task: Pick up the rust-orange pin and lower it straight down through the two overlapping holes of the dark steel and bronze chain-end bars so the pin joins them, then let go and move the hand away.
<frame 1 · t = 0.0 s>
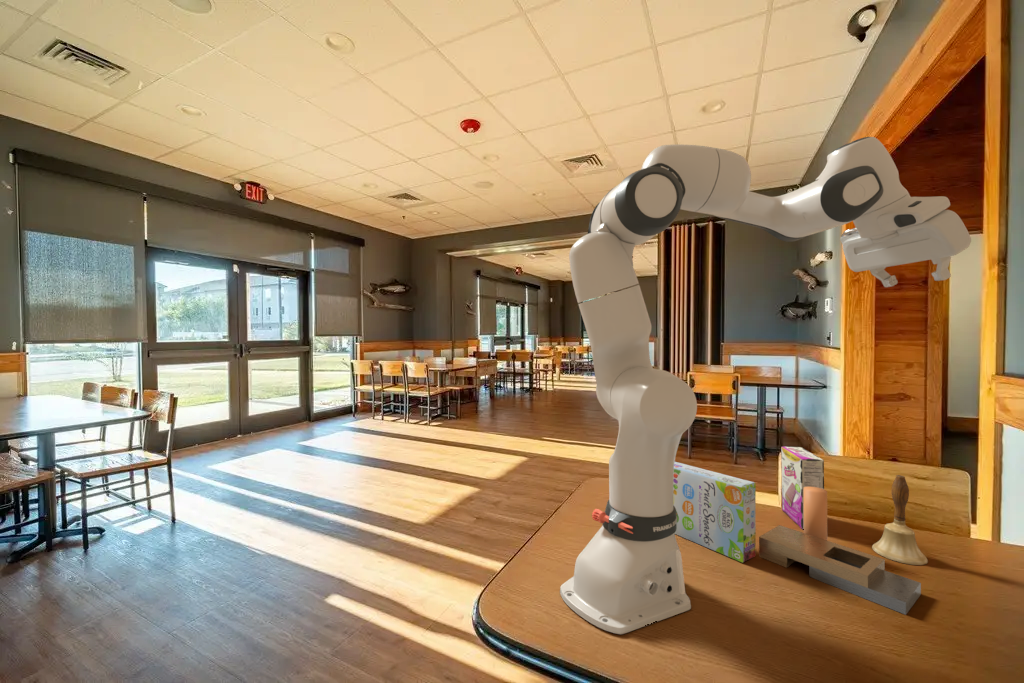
hand: (916, 282, 82), 54 cm above the table, tool tilted 30°, fingers open, 8 cm apart
hand bell: (899, 555, 85), on the table
snack box: (700, 540, 92), on the table
chain end upper: (846, 579, 77), on the table
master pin: (815, 547, 88), on the table
candy bar box: (801, 521, 101), on the table
chain end lower: (846, 579, 77), on the table
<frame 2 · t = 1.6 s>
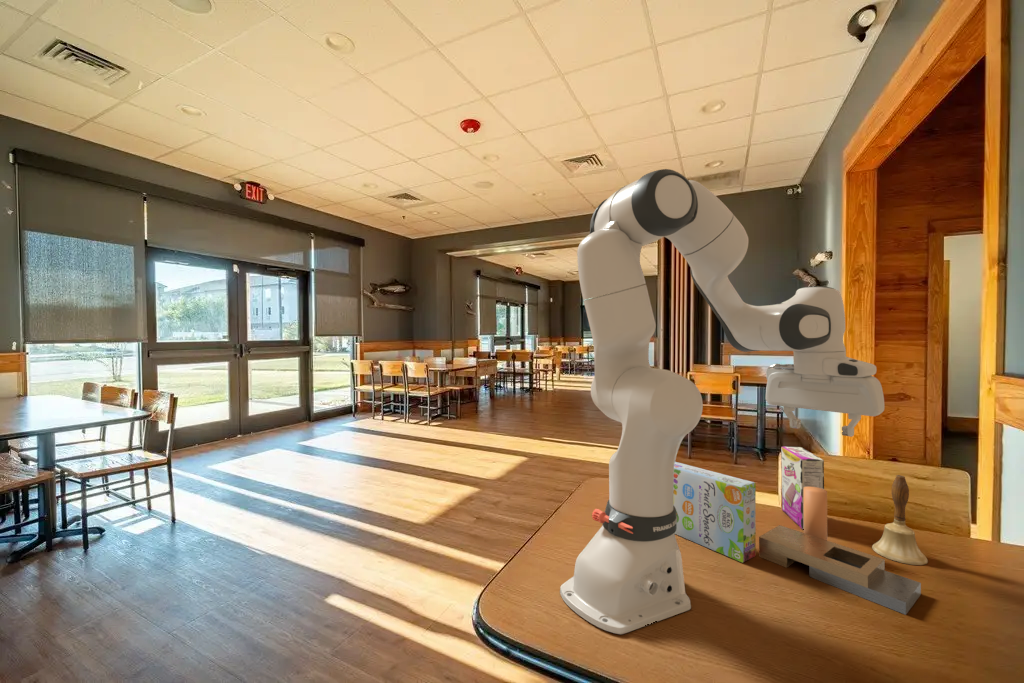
hand: (820, 431, 88), 24 cm above the table, tool pointing down, fingers open, 8 cm apart
nothing on the table moved.
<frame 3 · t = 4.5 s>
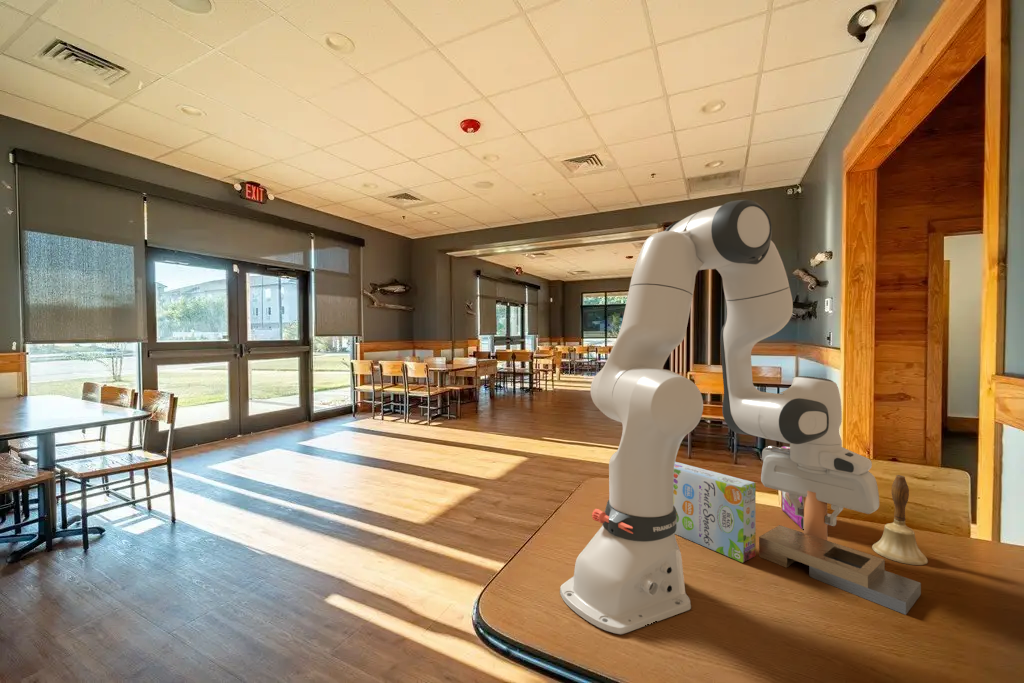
hand: (815, 519, 88), 6 cm above the table, tool pointing down, fingers closed on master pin, 4 cm apart
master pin: (815, 547, 88), on the table, touching gripper
everything else where it was.
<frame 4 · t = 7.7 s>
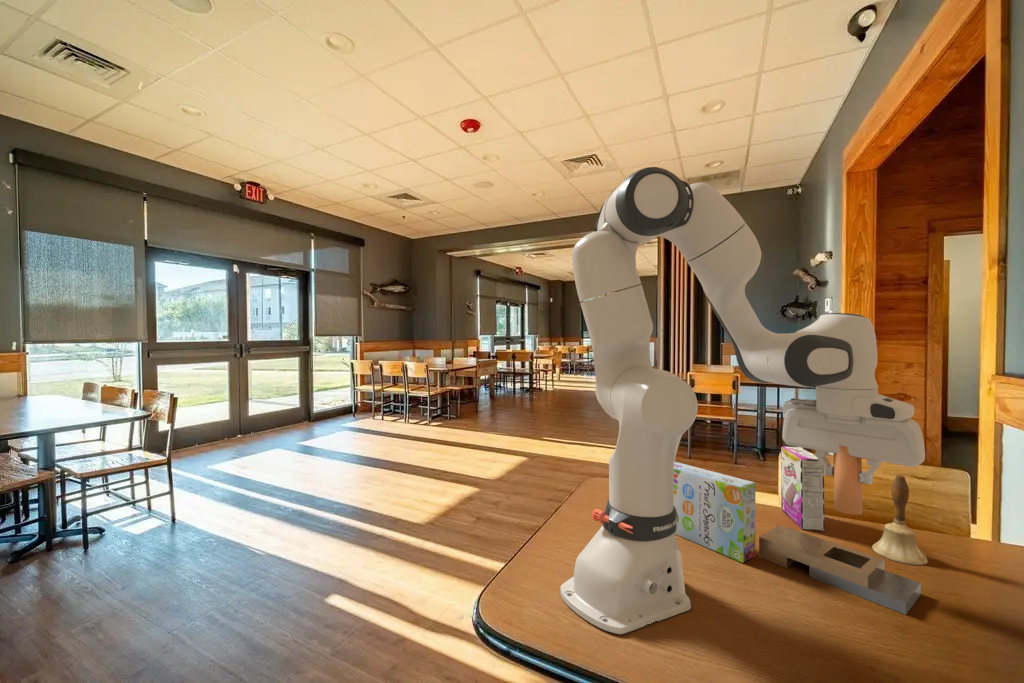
hand: (847, 479, 77), 18 cm above the table, tool pointing down, fingers closed on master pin, 4 cm apart
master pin: (848, 510, 77), point 13 cm above the table, touching gripper
everything else where it was.
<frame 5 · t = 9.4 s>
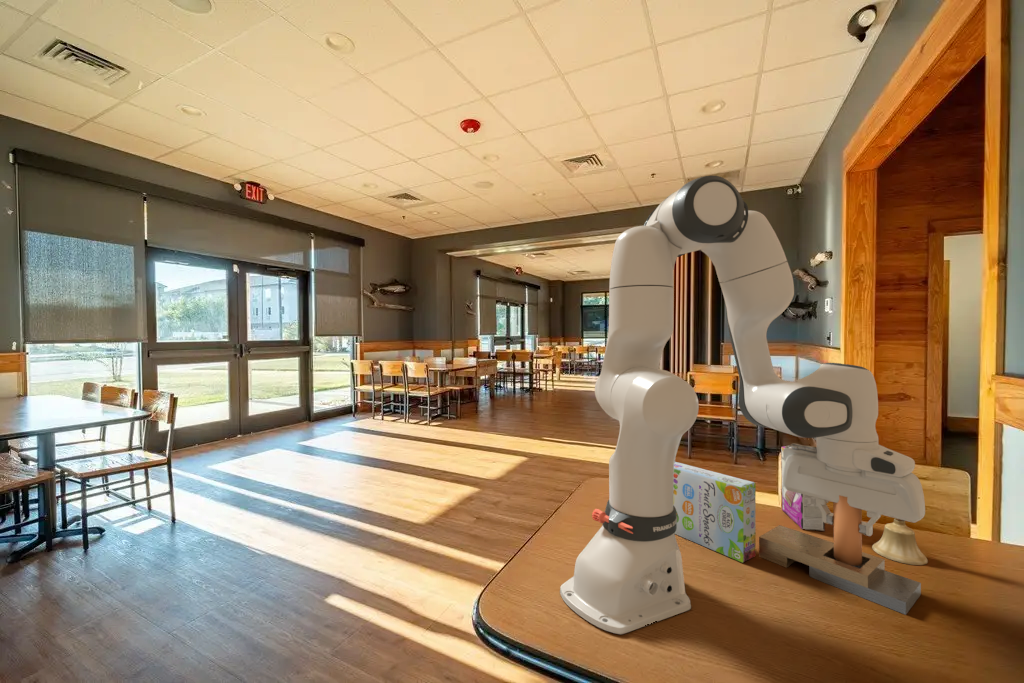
hand: (847, 528, 77), 9 cm above the table, tool pointing down, fingers closed on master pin, 4 cm apart
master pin: (847, 559, 77), point 3 cm above the table, touching gripper
everything else where it was.
when the fingers open (7 cm above the table, at t = 10.7 s): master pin stays where it is, resting in chain end lower.
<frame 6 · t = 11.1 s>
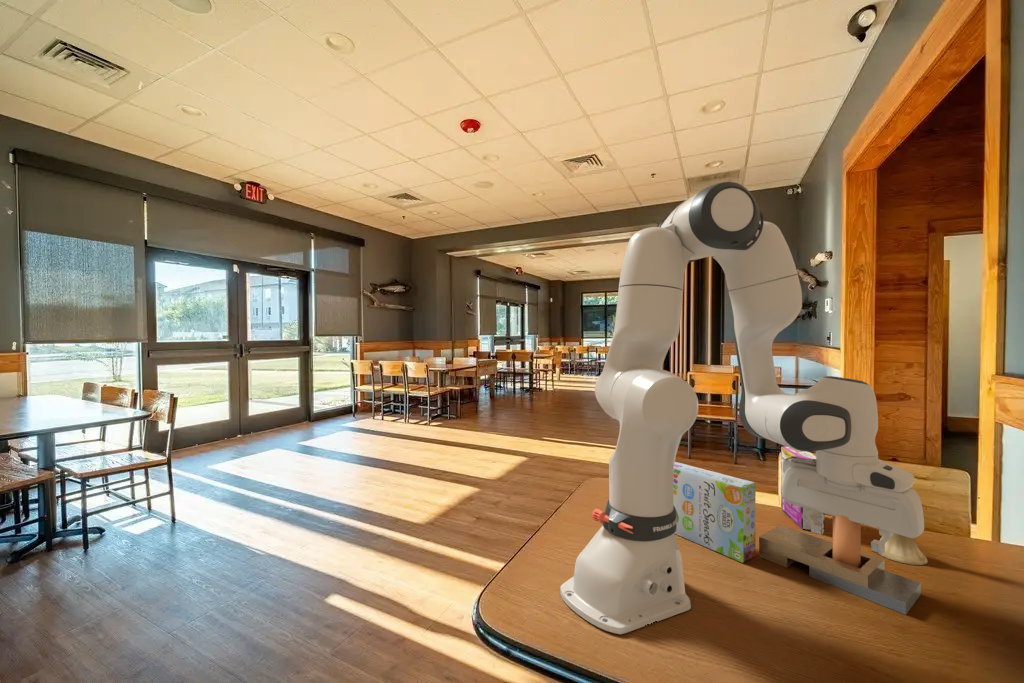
hand: (846, 542, 77), 7 cm above the table, tool pointing down, fingers open, 8 cm apart
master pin: (846, 579, 77), resting in chain end lower
everything else where it was.
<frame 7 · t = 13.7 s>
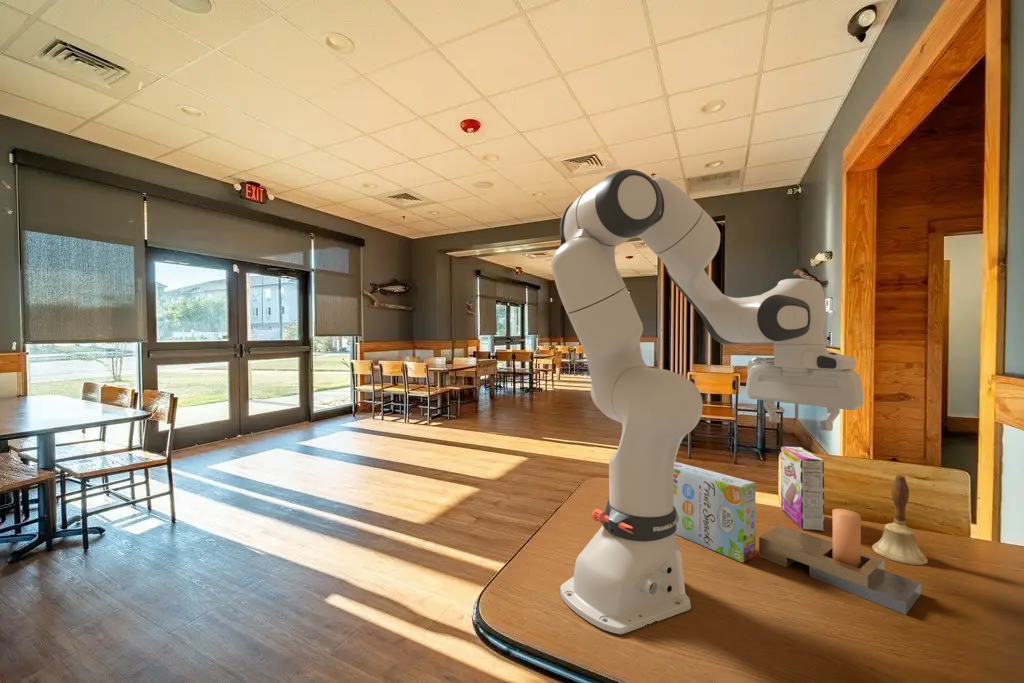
hand: (799, 426, 87), 26 cm above the table, tool pointing down, fingers open, 8 cm apart
nothing on the table moved.
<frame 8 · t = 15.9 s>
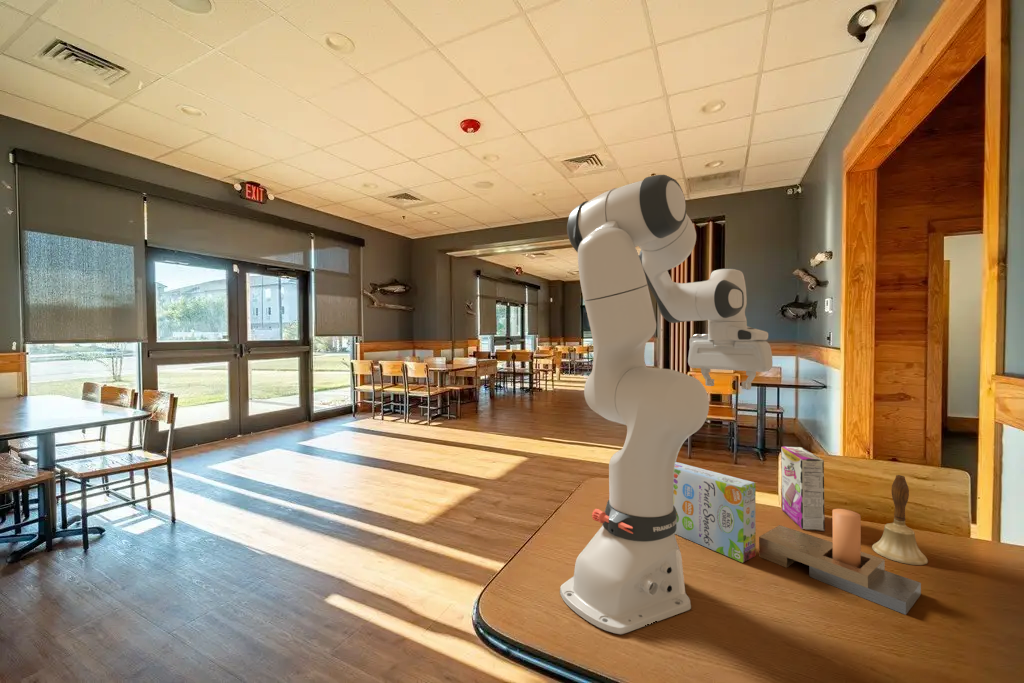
hand: (727, 387, 108), 31 cm above the table, tool pointing down, fingers open, 8 cm apart
nothing on the table moved.
at the end: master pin 0.0 cm from the target spot, resting in chain end lower; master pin tilted 0°; the gripper is holding nothing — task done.
